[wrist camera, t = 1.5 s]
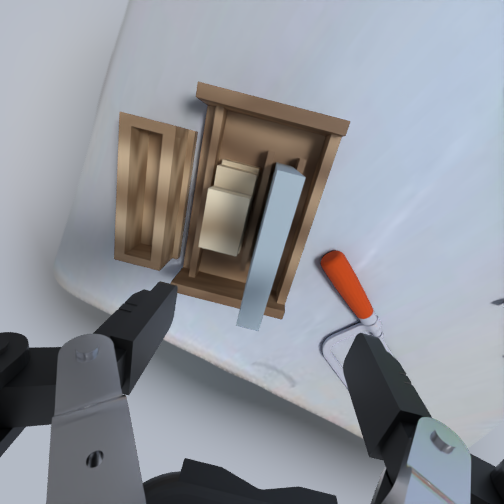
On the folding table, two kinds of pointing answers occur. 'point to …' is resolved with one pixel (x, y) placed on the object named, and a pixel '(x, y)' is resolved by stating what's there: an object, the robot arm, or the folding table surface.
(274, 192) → the panel
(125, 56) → the folding table surface
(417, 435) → the robot arm
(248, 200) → the offcut short
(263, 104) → the rack
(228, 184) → the offcut mid
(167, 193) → the stand
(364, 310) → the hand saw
